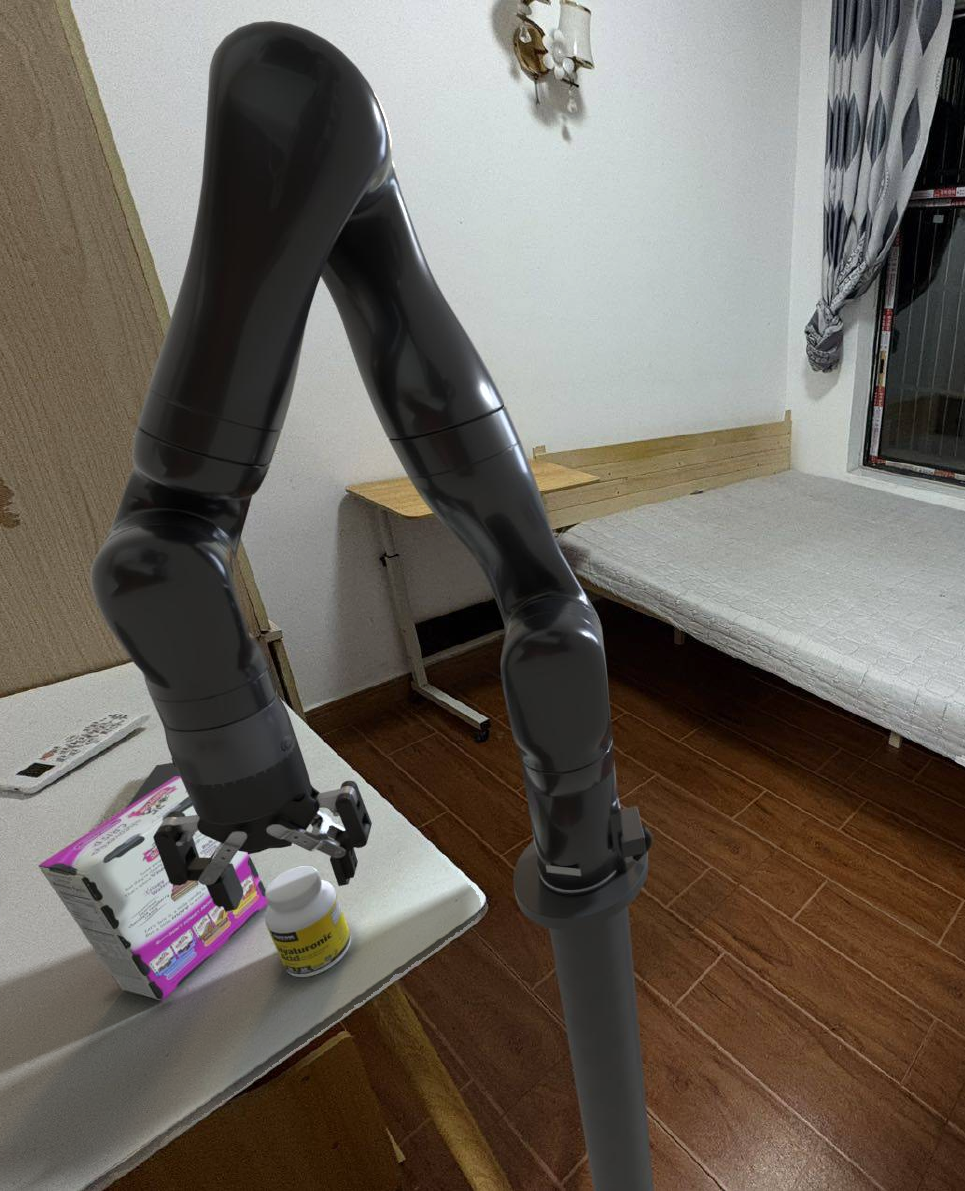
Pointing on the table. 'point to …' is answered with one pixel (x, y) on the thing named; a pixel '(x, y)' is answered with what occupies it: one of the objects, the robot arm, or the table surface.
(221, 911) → the candy bar box
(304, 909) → the supplement bottle
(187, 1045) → the table surface
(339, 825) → the robot arm
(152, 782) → the scale
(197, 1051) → the table surface
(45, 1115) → the table surface
